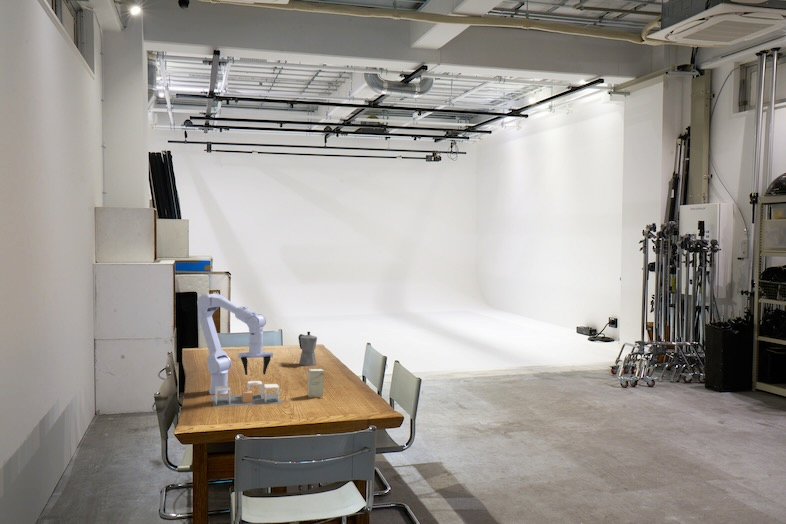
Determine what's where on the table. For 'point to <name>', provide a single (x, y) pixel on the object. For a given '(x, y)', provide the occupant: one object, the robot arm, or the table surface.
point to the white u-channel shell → (251, 383)
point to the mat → (237, 401)
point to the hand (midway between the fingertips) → (255, 374)
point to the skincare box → (315, 382)
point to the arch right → (271, 386)
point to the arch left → (222, 388)
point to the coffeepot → (307, 349)
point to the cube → (247, 396)
